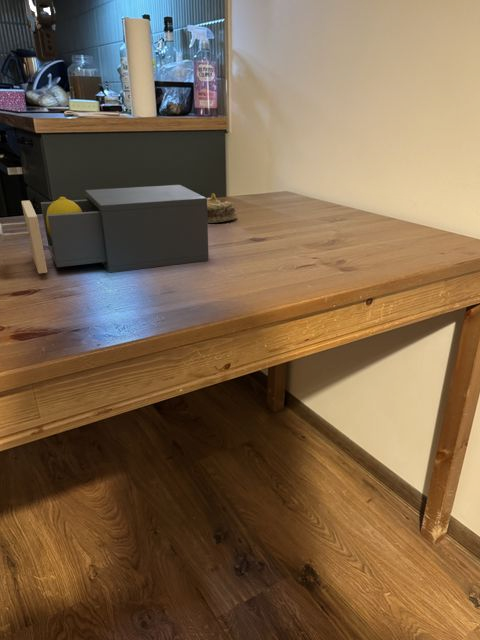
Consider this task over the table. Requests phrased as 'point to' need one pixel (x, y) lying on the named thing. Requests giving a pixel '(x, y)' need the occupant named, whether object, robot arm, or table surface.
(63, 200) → the lemon
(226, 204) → the cake
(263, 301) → the table surface
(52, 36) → the robot arm
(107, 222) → the cabinet
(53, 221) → the drawer
